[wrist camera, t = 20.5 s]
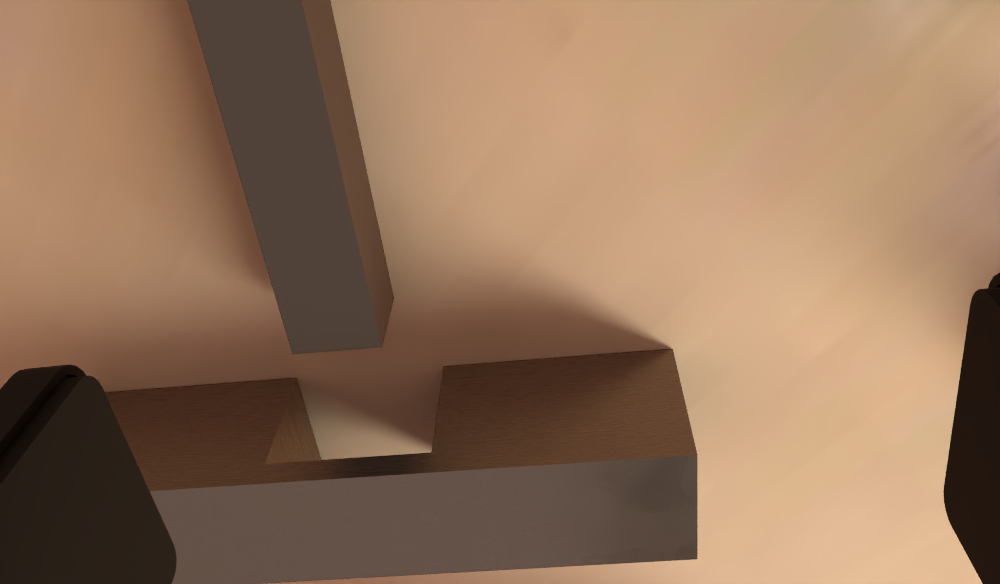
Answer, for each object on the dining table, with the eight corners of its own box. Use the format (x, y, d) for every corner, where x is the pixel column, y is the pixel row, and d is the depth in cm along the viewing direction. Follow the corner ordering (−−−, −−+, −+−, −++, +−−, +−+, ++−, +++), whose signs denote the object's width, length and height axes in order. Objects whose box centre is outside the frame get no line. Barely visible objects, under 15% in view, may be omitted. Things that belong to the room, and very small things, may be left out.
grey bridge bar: (674, 446, 37) (697, 558, 32) (125, 483, 39) (64, 594, 34) (672, 349, 34) (697, 454, 29) (84, 394, 36) (11, 500, 31)
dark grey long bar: (404, 297, 33) (389, 360, 30) (301, 305, 34) (275, 368, 30) (289, -259, 24) (249, -259, 21) (149, -239, 24) (87, -235, 21)
